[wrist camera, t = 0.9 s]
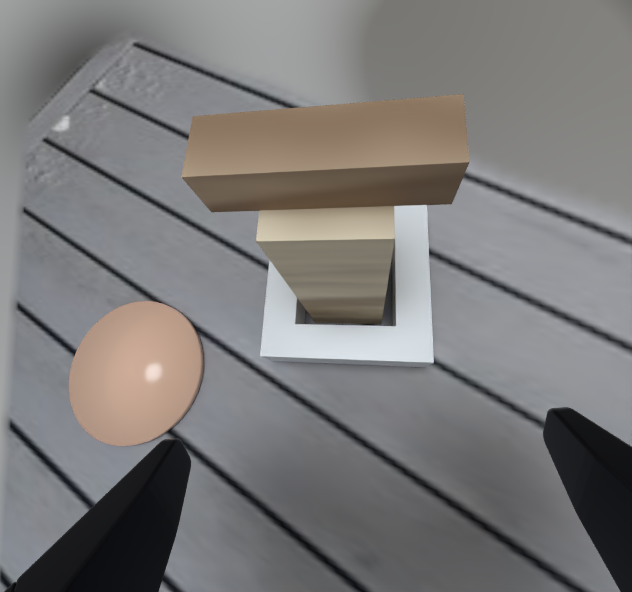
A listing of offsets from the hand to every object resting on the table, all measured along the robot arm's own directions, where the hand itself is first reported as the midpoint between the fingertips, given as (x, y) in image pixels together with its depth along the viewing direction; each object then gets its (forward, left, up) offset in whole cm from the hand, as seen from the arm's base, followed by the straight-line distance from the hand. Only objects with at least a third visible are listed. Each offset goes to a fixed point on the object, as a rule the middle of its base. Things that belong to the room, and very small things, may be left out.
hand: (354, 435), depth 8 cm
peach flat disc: (+2, +16, -14) cm, 21 cm away
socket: (+8, +1, -14) cm, 16 cm away
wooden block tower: (+8, +1, -14) cm, 16 cm away
